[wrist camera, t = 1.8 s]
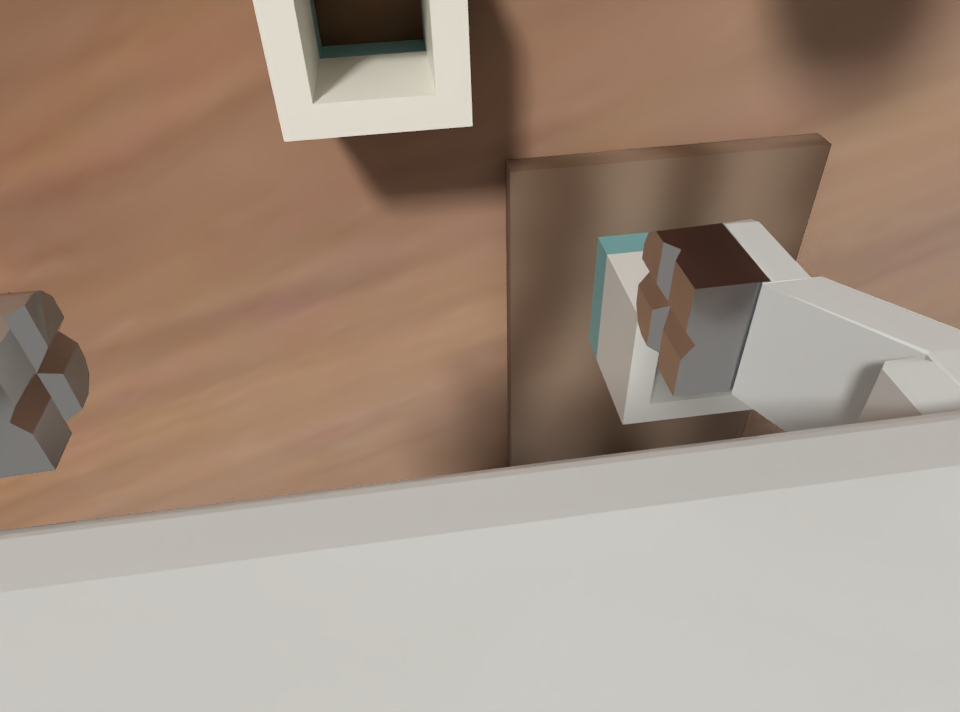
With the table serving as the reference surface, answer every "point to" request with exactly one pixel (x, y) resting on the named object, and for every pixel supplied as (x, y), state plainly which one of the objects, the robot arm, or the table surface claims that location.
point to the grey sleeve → (636, 342)
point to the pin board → (571, 270)
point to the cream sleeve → (366, 74)
